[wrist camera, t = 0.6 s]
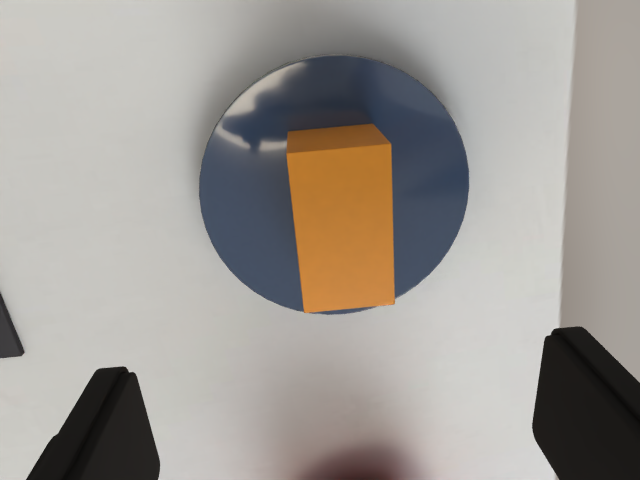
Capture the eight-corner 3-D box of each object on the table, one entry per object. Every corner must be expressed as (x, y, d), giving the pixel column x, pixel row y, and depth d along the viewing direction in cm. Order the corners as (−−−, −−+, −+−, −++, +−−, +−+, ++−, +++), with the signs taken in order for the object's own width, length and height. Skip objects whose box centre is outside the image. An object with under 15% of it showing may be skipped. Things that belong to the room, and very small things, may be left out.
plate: (179, 67, 24) (173, 69, 23) (466, 41, 25) (476, 41, 23) (226, 313, 30) (223, 326, 29) (456, 290, 31) (464, 302, 29)
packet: (287, 131, 25) (286, 153, 20) (373, 123, 25) (391, 143, 20) (302, 267, 28) (303, 313, 23) (378, 260, 28) (394, 304, 23)
